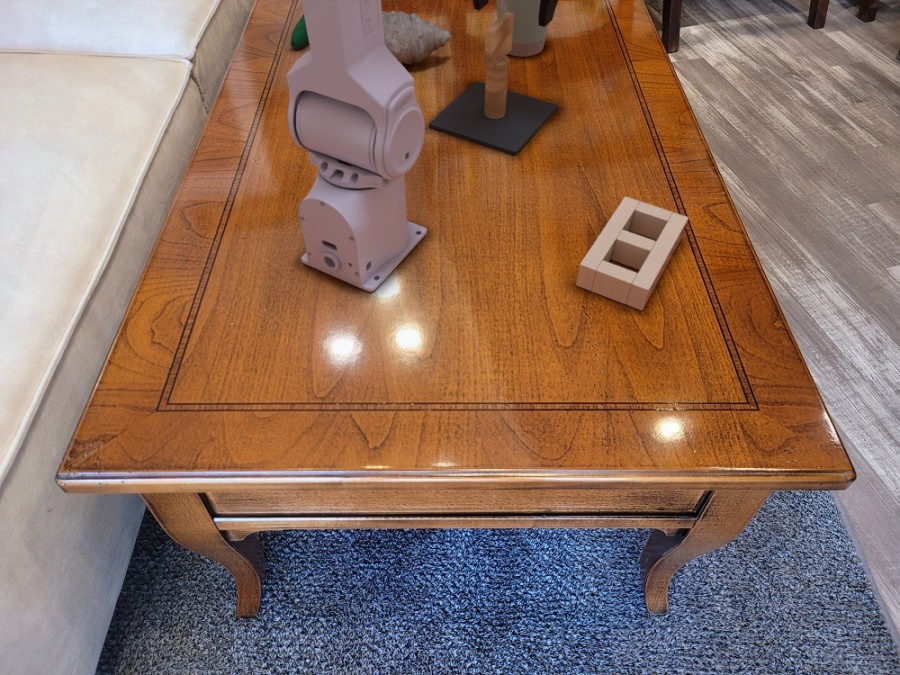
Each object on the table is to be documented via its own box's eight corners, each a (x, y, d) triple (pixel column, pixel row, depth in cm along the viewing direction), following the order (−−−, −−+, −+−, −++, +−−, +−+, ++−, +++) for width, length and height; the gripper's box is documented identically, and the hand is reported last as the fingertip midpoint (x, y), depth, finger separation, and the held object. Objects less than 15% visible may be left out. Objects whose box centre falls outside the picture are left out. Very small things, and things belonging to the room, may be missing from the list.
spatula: (494, 126, 76) (499, 33, 68) (475, 120, 76) (478, 27, 68) (513, 106, 78) (520, 14, 70) (495, 101, 79) (500, 9, 71)
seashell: (457, 50, 82) (429, -16, 77) (358, 98, 85) (325, 37, 80) (452, 37, 87) (426, -27, 82) (359, 82, 90) (328, 23, 85)
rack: (681, 238, 64) (689, 216, 62) (642, 311, 58) (649, 290, 56) (619, 217, 66) (625, 195, 64) (575, 285, 60) (579, 264, 58)
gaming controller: (364, 62, 90) (371, 16, 89) (355, 52, 86) (362, 4, 85) (298, 55, 91) (305, 9, 91) (287, 44, 87) (294, -3, 87)
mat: (515, 156, 73) (516, 152, 72) (428, 127, 76) (428, 123, 76) (558, 108, 79) (558, 104, 79) (475, 84, 83) (475, 80, 82)
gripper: (614, -137, 61) (591, 15, 72) (474, -159, 66) (471, -14, 77) (584, -115, 57) (563, 42, 68) (437, -141, 62) (439, 9, 73)
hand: (512, 14), depth 72 cm, fingers open, 7 cm apart
